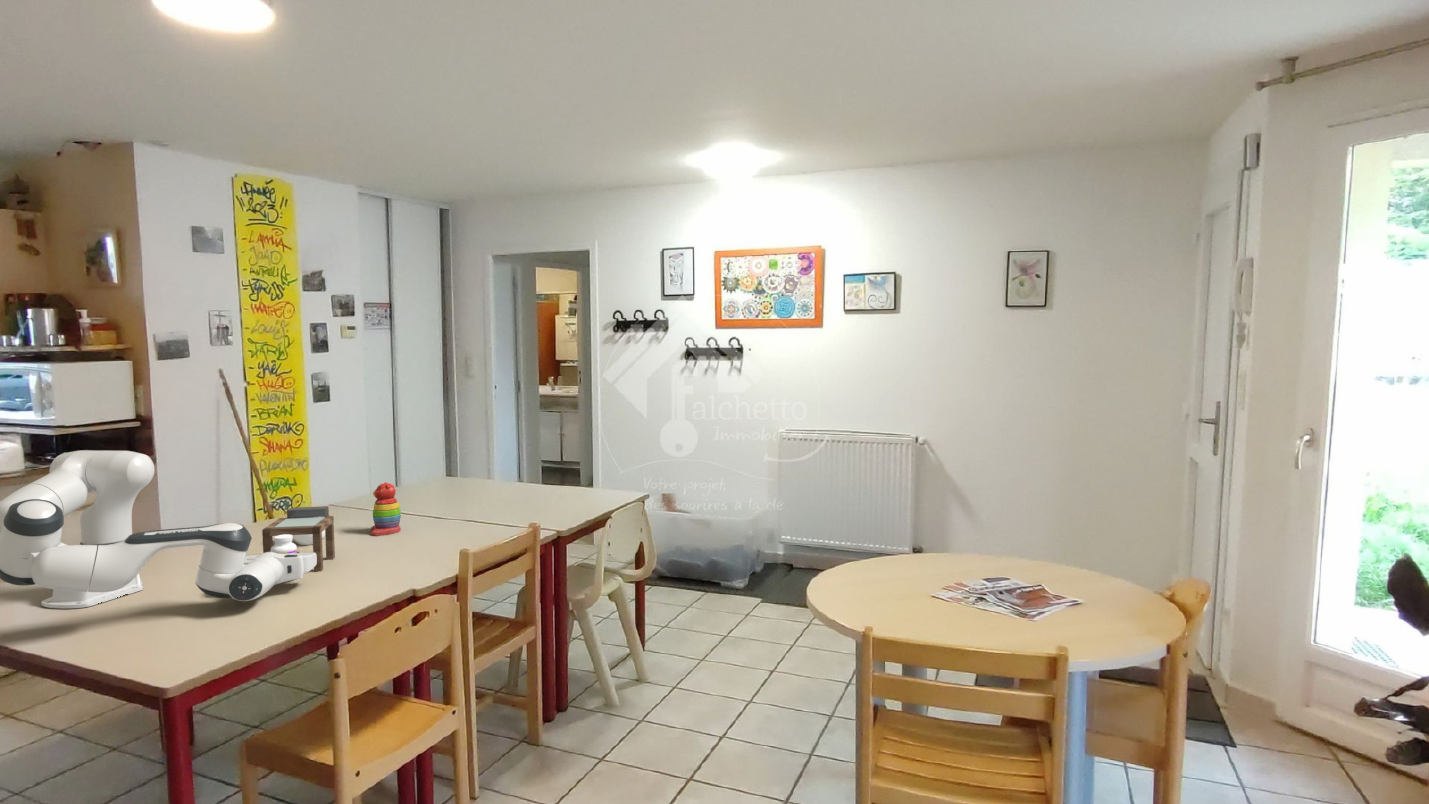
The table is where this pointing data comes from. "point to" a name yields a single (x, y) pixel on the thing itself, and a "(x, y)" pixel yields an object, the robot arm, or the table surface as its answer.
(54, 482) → the robot arm
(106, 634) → the table surface
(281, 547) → the supplement bottle
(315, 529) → the miniature wooden table
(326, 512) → the trapdoor
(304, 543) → the lidded bowl
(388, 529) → the stacking bear
